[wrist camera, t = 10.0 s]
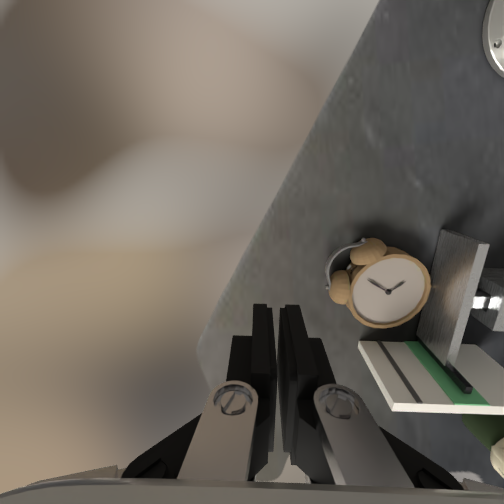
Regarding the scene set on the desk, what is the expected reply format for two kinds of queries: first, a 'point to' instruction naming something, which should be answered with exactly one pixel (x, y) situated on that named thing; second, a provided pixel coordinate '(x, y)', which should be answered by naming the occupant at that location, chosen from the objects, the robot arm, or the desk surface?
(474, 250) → the grey t-shaped piece
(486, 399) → the board
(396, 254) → the alarm clock
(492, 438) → the character mug
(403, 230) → the desk surface
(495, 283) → the block
